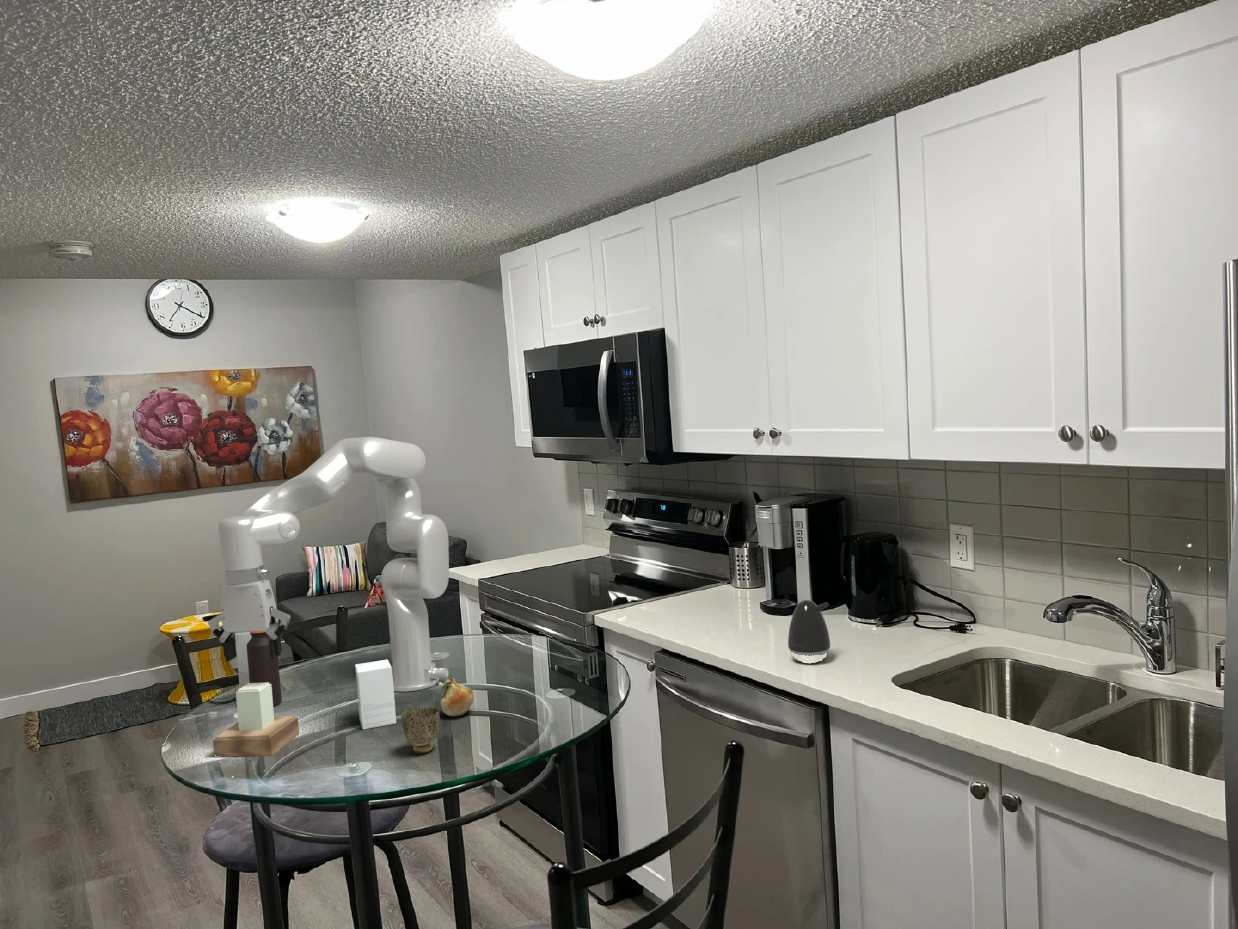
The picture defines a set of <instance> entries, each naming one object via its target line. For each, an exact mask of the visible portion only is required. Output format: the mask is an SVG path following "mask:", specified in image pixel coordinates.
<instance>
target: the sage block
mask: <svg viewBox="0 0 1238 929" xmlns="http://www.w3.org/2000/svg"><path fill="white" fill-rule="evenodd" d="M235 700H236V708H237V723H239V731H249V730H263V729H265V728H266V727H268V726H269V725H270V724H272V723H273V722H274V717H275V713H274V707H273V699H272V687H271V684H269V682H268V683H248V684H247V685H245V686H243V687H242V688H240V687H239V688H238V689H237V691H235Z"/></svg>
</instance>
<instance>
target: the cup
mask: <svg viewBox="0 0 1238 929" xmlns="http://www.w3.org/2000/svg"><path fill="white" fill-rule="evenodd" d="M440 711H441V710H440V707H439V708H438V706H436V705H435V706H434V707H432V706H431V705H429V706H428V707H427V706H426V705H423V706H422V707H421V705H419V706H418V707H417V709H415V708H414V707H411V710H409V709H404V712H403V711H402V712H401V715H400V718H401V722H402V727H403V734H404V737H405V740H406V741H407V743H408V744H410V745H412V746H413V747H412V748H413V749H412V750H413V751H414V753H415V754H420V755H421V754H422V755H423V754H427V753H429V752H430V751H431V750H432V749H433V746H434V745H433V743H434V742H435V740H436V739H437V737H438V735H439V732H440V731H439V729H440Z"/></svg>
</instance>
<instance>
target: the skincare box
mask: <svg viewBox="0 0 1238 929" xmlns="http://www.w3.org/2000/svg"><path fill="white" fill-rule="evenodd" d="M234 637H235V638H234V639H235V645H236V653H237V657H236V660H237V670H238V681H239V682H238V683H239V689H240V688H242V687H243V686H245V685H247V684H248V683H250V682H249V670H248V659H247V647H246V645H247V643H248V642H249V641H250V639H251V635H250V632H242V633H234Z"/></svg>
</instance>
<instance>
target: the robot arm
mask: <svg viewBox="0 0 1238 929" xmlns="http://www.w3.org/2000/svg"><path fill="white" fill-rule="evenodd" d="M426 465H427V459H426V455H425V453H424V451H423V450H422V449H421V448H420V446H418V445H417V444H414V443H411V442H405V441H399V440H392V439H387V438H381V437H376V436H362V437H348V438H343V439H341V440H339V441H337V442H336V443H334V444H333V445H332V446H331V447H330V448H329V449H328V450H327V451H326V452H324V453H323V454H322V455H321V456H320V457H319V458H317V459H316V461H315V462H313V463H312V464H311V465H310V466H309V467H308V468H307V469H305V470H304V471H302V472H301V473H299V474H298V475H297V476H294V477H292V478H290V479H288V480H287V481H285V482H284V483H282V484H280V485H278V486H275V487H274V488H272V489H271V490H269V491H267V492H266V493H265V494H263V495H261V497H259V498H257V500H256V501H255V502H254V503H252V504H251V505H250V506H249V507H247V509H245V511H244V512H243V513H242V514H241V515H239V516H238V515H237V516H232V517H227V518H224V519H221V520H220V521H219V523H218V526H217V527H218V535H219V536H218V537H219V545H220V546H219V547H220V554H221V562H222V563H221V564H222V571H223V581H224V585H222V588H221V596H220V613H219V614H217V615H216V616H214V617H212V618H211V619H209V621H207V625H208V627H209V628H210V629H211V631H212V633H213V635H214V636H215V637H216V638H217V639H219V642H220V643H222V649H223V650H222V651H223V656H224V657H225V661H226V662H230V661H233V659H235V658H236V659H237V651H236V640H235V638H233V636H235V633H242V632H258V631H265V632H266V633H267V634H268V635H269V636H270V637H271V639H270V640H269V648H270V656H271V658H272V659H275V658H277V657H278V658H279V657H280V656H281V655H282V651H283V649H282V648H283V647H282V636H283V634H284V633H285V632H286V630H287V629H288V627H289V624H290V622H291V619H292V616H291V615H290V614H289V613H285V612H283V611H281V610H279V609H278V608H277V604H276V599H275V595H274V591H273V588H272V586H271V585H272V584H271V582H270V580H269V579H266V577H269V576H270V573H271V572H270V569H266V568H265V565H264V562H263V553H262V549H263V548H268V547H282V546H286V545H289V544H290V543H292V542H293V541H295V540H296V539H297V537H298V535H299V533H300V530H301V525H300V521H299V519H298V518H297V516H296V515H295V514H298V513H300V512H303V511H306V510H308V509H309V510H310V509H312V508H315V507H319V506H322V505H324V504H326V503H328V502H330V501H331V500H332V499H334V497H335V496H337V494H338V493H339V492H340V491H341V490H342V489H344V487H346V486H347V485H348V484H350V482H352V480H353V479H354V478H355V477H356V476H358V475H365V474H366V475H367V474H368V475H369V476H370V477H371V478H372V479H373V480H375V482H376V483H378V485H379V486H380V488H381V490H382V492H383V494H384V498H385V508H386V509H385V510H386V513H385V514H386V516H385V519H386V527H385V528H386V541H387V544H388V547H389V548H390V549H391V550H392V551H393V552H396V553H397V552H398V553H403V554H405V553H406V554H407V553H408V554H410V553H411V554H416V555H417V557H416V558H415V557H401V558H399V557H398V558H395V559H392V560H390V561H389V562H387V563H386V564H385V565H384V566H383V569H382V571H381V574H380V575H381V576H380V579H381V580H380V581H381V587H382V591H383V594H384V598H385V601H386V607H387V615H388V616H387V617H388V628H389V642H390V644H389V645H390V654H391V667H392V676H393V688H394V692H414V691H422V690H424V689H428V688H432V687H434V686H436V685H438V684H439V682H440V678H448V677H449V669H448V668H446V667H436V662H432V655H431V654H432V653H431V642H430V641H431V638H430V628H429V627H430V626H429V613H428V608H427V605H426V602H425V600H424V599H430V600H431V599H437V598H439V597H441V596H442V595H443V594H444V593H445V591H446V590H447V588H448V584H449V579H450V565H449V564H450V556H449V552H450V551H449V547H450V546H449V532H448V529H447V526H446V524H445V523H444V521H443V520H442V519H441V518H440V517H438V516H437V515H434V514H427V513H425V514H423V511H422V509H423V508H422V499H421V498H422V497H421V495H422V494H421V492H420V488H419V486H418V484H417V482H416V478H418V477H419V476H420V475H421V474H422V473H424V470H425V469H426ZM279 620H280V623H279ZM220 622H221V623H222V627H221V626H220V624H219V623H220ZM278 623H279V626H278Z"/></svg>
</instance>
